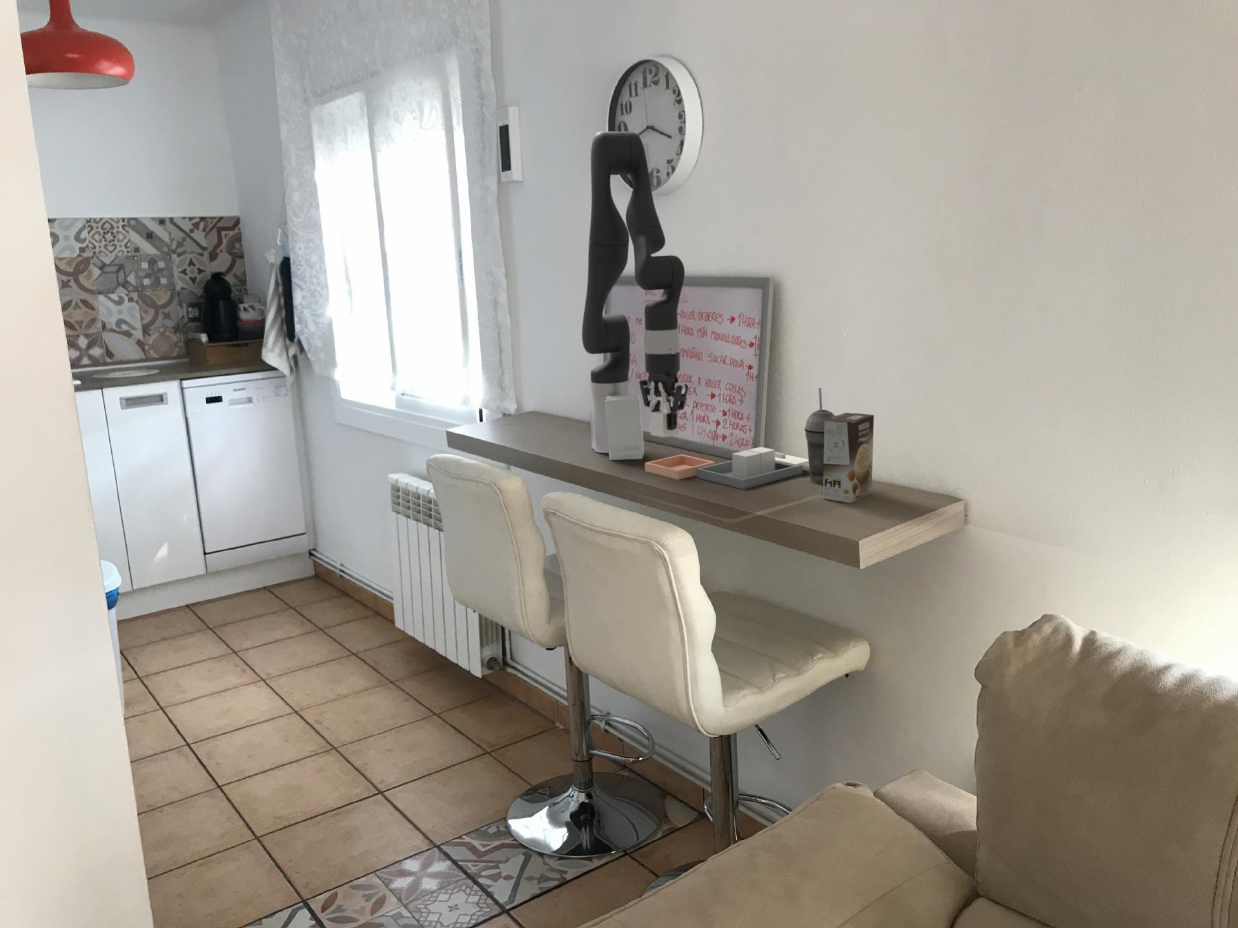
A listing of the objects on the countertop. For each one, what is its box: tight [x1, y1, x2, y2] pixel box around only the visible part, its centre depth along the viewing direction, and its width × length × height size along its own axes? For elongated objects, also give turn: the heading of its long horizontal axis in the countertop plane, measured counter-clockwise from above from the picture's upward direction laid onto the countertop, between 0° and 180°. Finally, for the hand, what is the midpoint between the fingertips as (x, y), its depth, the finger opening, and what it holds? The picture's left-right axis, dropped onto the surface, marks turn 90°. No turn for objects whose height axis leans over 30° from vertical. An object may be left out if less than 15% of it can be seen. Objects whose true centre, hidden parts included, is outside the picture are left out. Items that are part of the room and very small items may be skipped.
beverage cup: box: [804, 387, 836, 485], centre depth 204 cm, size 7×7×20 cm
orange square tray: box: [644, 453, 716, 481], centre depth 219 cm, size 11×11×2 cm
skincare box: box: [605, 393, 645, 461], centre depth 234 cm, size 8×6×15 cm
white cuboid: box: [731, 450, 760, 479], centre depth 212 cm, size 4×4×5 cm
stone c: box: [746, 446, 776, 475], centre depth 214 cm, size 4×4×5 cm
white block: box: [649, 409, 679, 438], centre depth 217 cm, size 4×4×5 cm
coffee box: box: [822, 412, 875, 504], centre depth 194 cm, size 9×6×16 cm
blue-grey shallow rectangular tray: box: [696, 451, 809, 490], centre depth 213 cm, size 15×21×4 cm
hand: (664, 427), depth 217 cm, fingers closed on white block, 4 cm apart
